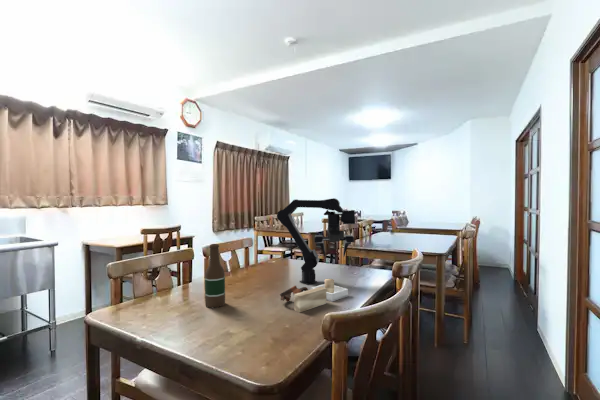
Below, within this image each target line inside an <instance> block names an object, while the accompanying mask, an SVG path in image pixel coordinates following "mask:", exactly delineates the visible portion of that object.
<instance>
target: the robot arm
mask: <svg viewBox="0 0 600 400" xmlns="http://www.w3.org/2000/svg"><path fill="white" fill-rule="evenodd" d="M298 208H312V209H315V208H316V209H323V210H326V211H325V212H324V213H323V215H324V216H327V236H324V235H323V234H317V235H316V234H315V236H314V243H317V245H319V246H320V248H321V250H322V254H323V257H324V258H325V257H326V251H325V250H326V248H325V243H324V241H325V242H327V241H329V242H331V243H332V242H336V243H338V242H342V241H344V242H343V250H342V251H343V252H342V254H343V258H344V257H345V256H346V253H347V250H348V247H349V245H352V243H355V237H354V235H352V234H345V231H344V230H341V223H343V225H356V215H355V214H356V213H355V212H356V211H355V209H351V210H344V209H343V208H342V207H341V202H340V201H339V200H338V199H337V198H336V197H335V198H327V199H319V200H318V199H317V200H315V199H313V200H312V199H292V201H291V202H290V203H289V204H288V205H287V206H285V207H284V208H283V209H281V210H279V211H278V212H277V214H276V218H277V220H278V222H280V224H281V225H282V226H284V227H285V228H286V229H287V231H288V233H289V234H290V236H291V237H292V239H293V241H294V243H295V245H296V246H297V247H298V249H299V250H300V252H301V254H302V257H303V261H304V263H303V264H302V265H301V266H300V269H301V280H299V283H301V284H305V285H313V284H316V283H318V280H316V270H315V268H316V267H317V265H318V263H319V261H320V260H319V254H318V253H317V251H316V249H315V248H314V249H311V248H310V247H309V246H308V243H307V242H306V241H305V239H304V237H303V236H302V234H301V232H300V231H299V230H298V228H297V226H296V225H295V222H294V219H293V214H294V212H295V211H296V210H297V209H298ZM336 212H337V213H336Z"/></svg>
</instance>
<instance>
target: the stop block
mask: <svg viewBox="0 0 600 400" xmlns="http://www.w3.org/2000/svg"><path fill="white" fill-rule="evenodd" d="M293 304H294V305H293V306H294V309H293V310H294V311H295V312H297V313H302V312H306V311H308V310H311V309H314V308H318V307H320V306H323V305H327V300H326V288H324V287H318V288H315V289H311V288H310V289H308V291H303V292H300V293H297V294H293Z"/></svg>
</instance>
